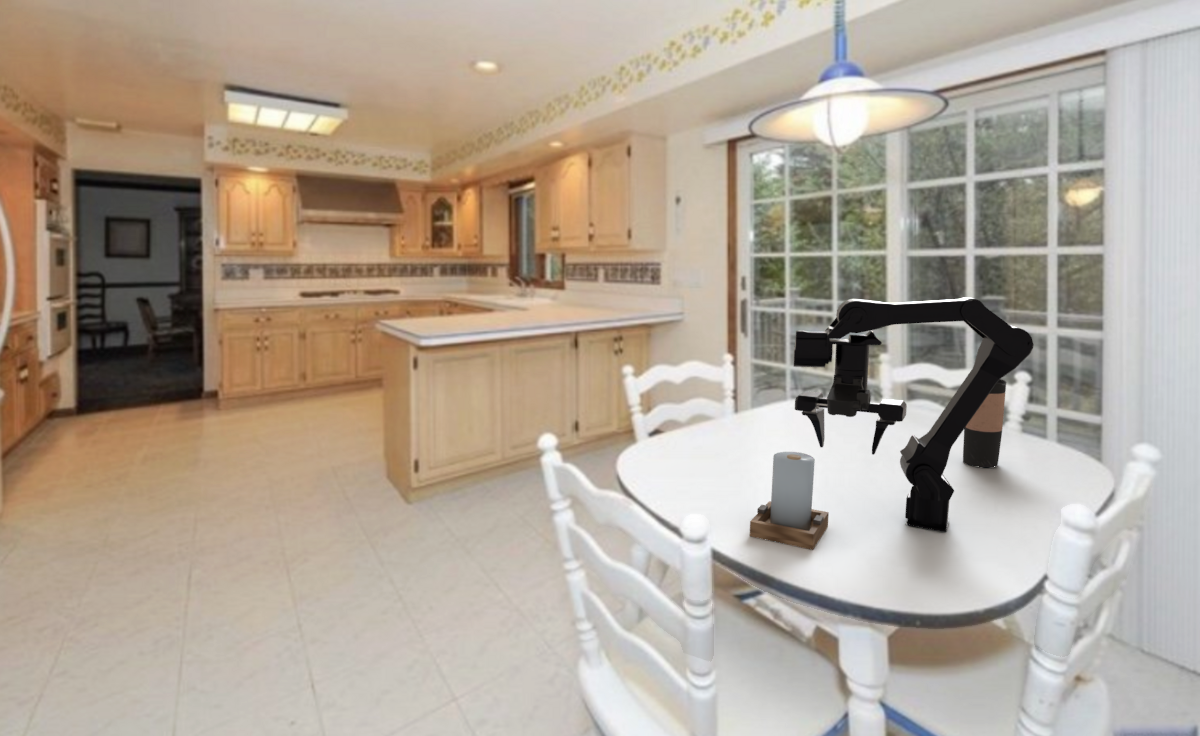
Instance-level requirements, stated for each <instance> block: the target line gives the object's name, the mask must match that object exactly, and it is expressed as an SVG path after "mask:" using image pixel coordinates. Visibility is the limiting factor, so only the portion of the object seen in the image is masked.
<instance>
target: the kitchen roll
mask: <svg viewBox="0 0 1200 736" xmlns="http://www.w3.org/2000/svg"><path fill="white" fill-rule="evenodd" d="M772 459H773V460H772V480H771V515H770V523H772V524H777V525H782V526H787V527H792V528H797V529H801V530H806V531H809V530H810V526H811V511H812V508H813V494H814V476H815V462H816V461H815V458H814V456H812V455H810V454H807V453H802V452H797V451H780V452H776V453H774V454H773V458H772Z"/></svg>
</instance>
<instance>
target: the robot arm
mask: <svg viewBox="0 0 1200 736" xmlns="http://www.w3.org/2000/svg"><path fill="white" fill-rule="evenodd" d="M835 315H836V317H835V318H834V319H833V321H832V322H831V323H830V324H829V325H827V328H826V329H825V330H824V331H812V330H811V331H808V330H803V329H798V330H795V339H794V340H795V341H794V343H795V344H794V346H793V367H795V368H797V367H798V368H800V367H801V368H804V367H805V368H826V364H827V365H829V363H832V361H833V345H835V357H834V375H833V381H832V385H831V387H830V389H829V392H828V394H827V397H824V395H823V392H819V391H818V392H817V391H808V390H804V391H802V392H801V393H800V394H799V395H797V396H796V397H795V399H794V410H795V411H799V412H801V414H802V416H805V417H807V418H808V419H809V420H810V422H811V424H812V426H813V428H814V433H815V435H816V438H817V441H818V444H819V448H824V444H825V409H827V414H829V415H831V416H836V415H838V416H845V417H847V418H853V417H856V415H857V414H858V412H860V413H870V414H878V415H877V416H878V418H877V419H876V421H875V429H874V435H873V440H872V446H871V455H873V456H874V455H875V454H876V453H877V449H878V447H879V445H880V443H881V440H882V438H883V435H884V433H885V431H886V430H887V428H888V426H894V425H895V424H896V422H899V423H900V422H903V421H904V419H905V418H906V415H907V408H908V407H907V403H906V402H905V400H903V399H891V398H882V399H881V401H880V402H871V391H870V389H868V382H869V381H868V380H869V377H868V376H869V363H870V361H869V358H870V346H881V345H882V343H883V342H882V340H880V338H878V337H877V336H876V335H875V333H874V330H878V329H882V328H885V327H889V326H893V325H906V324H907V325H908V324H909V325H910V324H930V323H947V322H964V323H965V324H966V325H967V326H968V327H969V328H970V329H972V331H973V332H974V333H976V334H977V335H978V336H979V337H980V338H982V341H981V342H980V344H979V347H978V350H977V354H976V357H975V360H974V361H975V362H974V365H973V367H972V368H971V370H970V372H969V373H968V374H967V375H966V377H965V379H964V380H963V381H962V383H961V384H960V386H959V387H958V389H957V390H956V392H955V393H954V395H953V396H952V398H951V399H950V400H949V402H948V403H947V404H946V405H945V407H944V409H943V410H942V412H941V413H940V414H939V416H938V418H937V419H936V421H934V423H933V425H932V426H931V428H930V429H929V431H928V432H927V433H925V434H923V436H921V437H920V438H918V437H916V436H915V435H913V434H912V435H911V436H910V438H909V440H908V442H907V444H906V446H905V447H904V448H903V449H901V450H899V452H900V454H901V456H900V460H899V463H900V468H901V470H902V472H903V474H904V476H905V478H906V479H907V480H908V482H909V484H911V485H912V486H911V488H910V492H909V493H908V494H907V495H906V499H905V500H906V502H905V516H904V518H905V520H906V525H907V526H909V527H915V528H921V529H925V530H930V531H935V532H936V531H937V532H941V533H947V531H948V527H949V524H950V523H949V522H950V518H949V512H950V511H949V510H950V509H949V508H950V500H951V498H952V496H953V494H954V493H955V489H954V488H953V486H952V484H950V482H949V481H948V479H947V478H946V477H945V475H944V473H945V472H944V471H945V469H946V467H947V465H948V461H949V457H950V452H951V450H952V447H953V445H954V444H955V442H956V441H957V439H958V438H959V437H960V435H961V434H962V433H963V432H964V428H965V427H966V426H967V424H968V423H969V421H970V420H971V419H972V417H973V416H974V414H975V413H976V412H977V410H978V409H979V407H980V406H981V404H982V403H983V402H984V400H985V399H986V397H987V396H988V395H989V393H990V392H991V390H992V389H993V388H994V386H995V385H996V383H997V382H998V381H999V380H1000V379H1002V378H1004V377H1005V376H1007V375H1009V373H1011V372H1012V371H1014V370H1015V369H1016V368H1018V367H1019V365H1020V364H1022V362H1024V361H1025V359H1026V358H1027V357H1029V356H1030V354H1031V353H1032V351H1033V349H1034V341H1033V337H1032V336H1031V334H1030V333H1029V332H1028V331H1027V330H1025V329H1023V328H1019V327H1016V326H1013V325H1010V324H1009V323H1007V322H1006V321H1005V320H1004V319H1002V318H1001V317H1000V316H999V315H997V314H995V313H994V312H993V311H991V310H990V309H989V308H988V307H986V305H984V303H983V302H982V301H981V300H979V299H977V298H974V297H968V296H967V297H966V296H965V297H964V296H963V297H961V298H955V299H953V298H952V299H939V300H923V301H922V300H920V301H905V302H904V301H902V302H885V301H878V300H869V299H860V298H850V299H845V300H844V301H843V302H842V303H841V304H840V305H839V306H838V308H837V309H836V314H835ZM864 332H865V333H866V332H867V333H866V334H859V333H864ZM847 335H849V336H848V338H845V339H842V338H844V337H845V336H847Z"/></svg>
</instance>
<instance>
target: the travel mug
mask: <svg viewBox="0 0 1200 736" xmlns="http://www.w3.org/2000/svg"><path fill="white" fill-rule="evenodd" d="M1006 390H1007V381H1006V380H1005V379H1002V378H1001V379H1000V380H999V381H998V382H997V383H996V385H995V386H994V388H993V389H992V390H991V392H990V393H989V395H988V396H987V397H986V399H985V400H984V402H983V403H982V404H981V406H980V407H979V409H978V410H977V412H976V413H975V414H974V416H973V417H972V419H971V420H970V421H969V423H968V424H967V426H966V427H965V428H964V430H963V448H962V450H963V451H962V462H963V463H964V462H965V463H966V465H967V464H969V465H968V466H970V465H973V466H972V467H974V466H979V467H978V468H980V467H994V466H997V467H998V464H999V459H1000V452H1001V451H1000V450H1001V445H1002V443H1001V442H1002V437H1003V435H1002V434H1003V427H1004V426H1003V425H1004V415H1005V401H1006V392H1007V391H1006ZM965 463H964V464H965ZM994 468H995V467H994Z"/></svg>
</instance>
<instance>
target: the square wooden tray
mask: <svg viewBox="0 0 1200 736" xmlns="http://www.w3.org/2000/svg"><path fill="white" fill-rule="evenodd" d="M756 512H757V513H756V514H755V516H754V517H753V518H751V520H750V521H749V537H751V536H752V538H757V539H760V538H761V539H760V540H765V539H766V540H765V541H769V540H770V542H774V541H776V542H775V543H779V542H780V543H779V544H783V543H784V545H788V546H792V547H793V546H794V547H797V548H802V549H806V550H811V551H813V550H814V549H815V547H816V546H817V544H818V542H819V541H820V539H821V538H822V537H823V535H824V534H825V532H826V530H827V529H828V527H829V512H828V511H825V510H824V511H823V510H819V509H812V511H811V526H810V530H809V531H806V530H801V529H797V528H792V527H787V526H782V525H777V524H772V523H770V515H771V501H770V500H769V501H768V502H767V503H766V504H760V506H759V507H758V508H757V511H756Z"/></svg>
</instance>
